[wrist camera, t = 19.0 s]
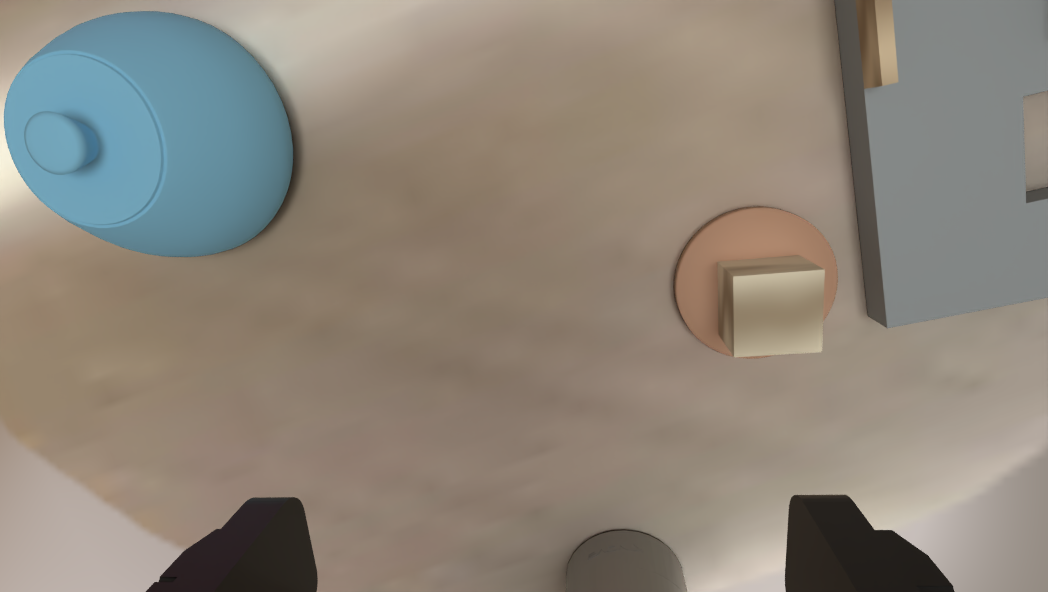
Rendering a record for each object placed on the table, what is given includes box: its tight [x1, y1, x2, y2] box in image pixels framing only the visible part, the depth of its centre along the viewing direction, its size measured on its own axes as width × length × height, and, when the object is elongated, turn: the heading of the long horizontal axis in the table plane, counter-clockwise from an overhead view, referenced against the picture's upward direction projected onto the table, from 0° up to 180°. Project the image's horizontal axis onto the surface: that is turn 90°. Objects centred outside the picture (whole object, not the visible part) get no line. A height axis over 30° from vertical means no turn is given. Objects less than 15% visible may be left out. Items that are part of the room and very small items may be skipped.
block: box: [717, 255, 825, 357], centre depth 35 cm, size 5×5×4 cm
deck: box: [835, 0, 1048, 328], centre depth 32 cm, size 25×15×2 cm, turn 14°
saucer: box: [674, 206, 838, 358], centre depth 37 cm, size 10×10×1 cm
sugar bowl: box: [4, 11, 293, 257], centre depth 33 cm, size 15×15×12 cm
